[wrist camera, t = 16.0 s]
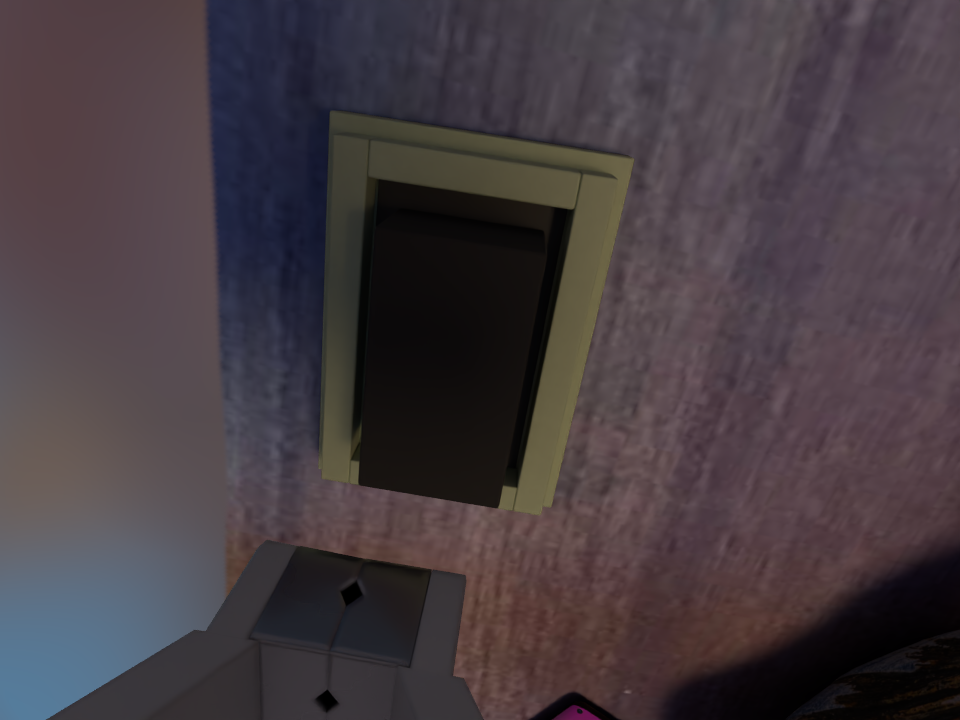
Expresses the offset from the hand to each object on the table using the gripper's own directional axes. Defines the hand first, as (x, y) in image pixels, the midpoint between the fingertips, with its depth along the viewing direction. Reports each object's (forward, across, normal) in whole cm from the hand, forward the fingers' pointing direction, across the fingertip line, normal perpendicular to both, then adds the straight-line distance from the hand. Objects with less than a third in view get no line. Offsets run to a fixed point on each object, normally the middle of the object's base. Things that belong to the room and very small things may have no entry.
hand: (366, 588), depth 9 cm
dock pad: (+12, 0, 0) cm, 12 cm away
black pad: (+11, 0, 0) cm, 11 cm away
